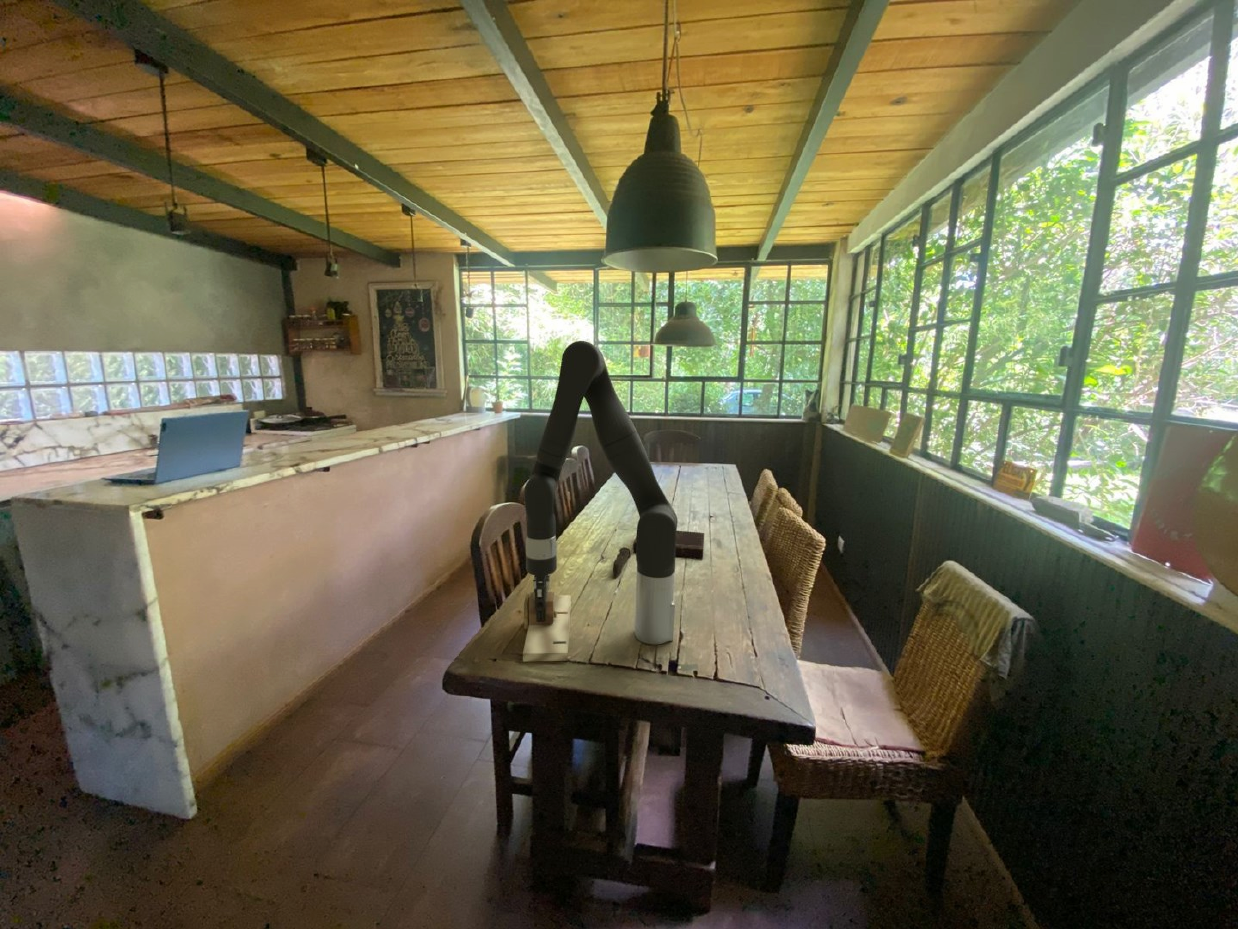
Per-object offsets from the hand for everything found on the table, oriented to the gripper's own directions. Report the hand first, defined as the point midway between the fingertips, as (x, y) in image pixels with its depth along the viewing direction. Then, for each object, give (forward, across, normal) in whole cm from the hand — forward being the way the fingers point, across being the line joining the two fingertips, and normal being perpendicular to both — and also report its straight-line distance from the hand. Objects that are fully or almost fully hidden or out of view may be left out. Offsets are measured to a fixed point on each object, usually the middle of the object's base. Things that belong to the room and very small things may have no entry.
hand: (541, 615), depth 121 cm
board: (+3, -1, -2) cm, 4 cm away
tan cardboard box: (+2, 0, 0) cm, 2 cm away
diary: (+4, +55, -44) cm, 70 cm away
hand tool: (+4, +37, -24) cm, 44 cm away
